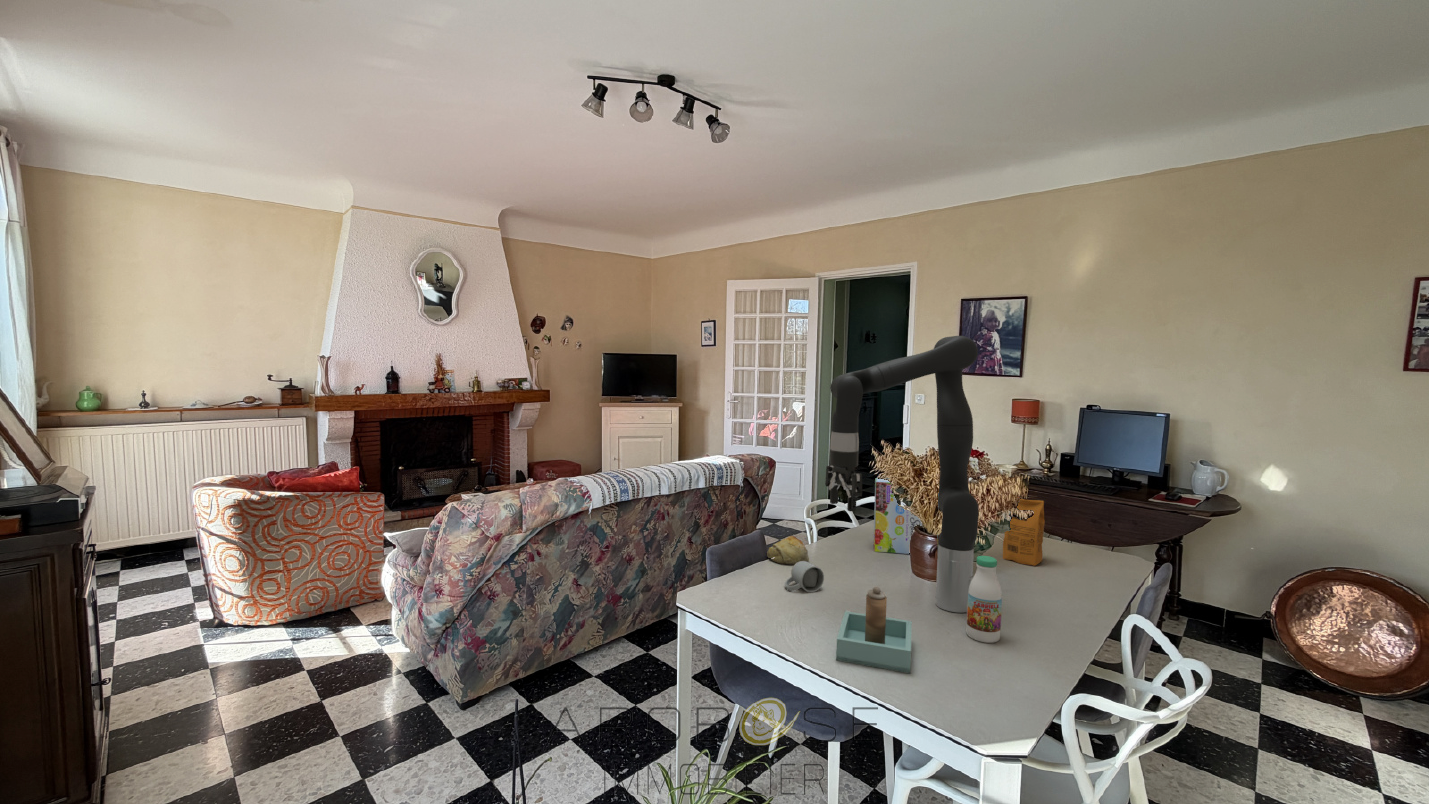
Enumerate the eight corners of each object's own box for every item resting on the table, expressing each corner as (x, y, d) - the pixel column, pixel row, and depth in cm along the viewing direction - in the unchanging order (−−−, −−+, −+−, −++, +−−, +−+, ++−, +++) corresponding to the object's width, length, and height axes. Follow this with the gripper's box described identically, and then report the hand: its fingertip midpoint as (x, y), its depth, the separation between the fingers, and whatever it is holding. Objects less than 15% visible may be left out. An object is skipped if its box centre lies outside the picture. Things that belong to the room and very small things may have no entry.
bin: (910, 640, 144) (911, 621, 144) (910, 673, 129) (911, 651, 129) (844, 630, 150) (844, 611, 149) (836, 660, 134) (836, 638, 134)
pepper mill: (885, 643, 141) (887, 584, 140) (884, 652, 136) (886, 592, 135) (865, 640, 142) (867, 582, 141) (863, 648, 138) (865, 589, 137)
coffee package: (1009, 552, 213) (1012, 492, 212) (1046, 561, 204) (1050, 499, 203) (997, 558, 207) (1000, 496, 205) (1035, 568, 198) (1039, 503, 196)
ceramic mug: (810, 580, 183) (810, 556, 182) (824, 590, 175) (824, 565, 174) (779, 585, 179) (779, 561, 178) (792, 596, 171) (793, 570, 171)
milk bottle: (961, 628, 151) (964, 552, 150) (991, 629, 151) (995, 553, 150) (973, 643, 144) (977, 563, 142) (1005, 644, 143) (1010, 563, 142)
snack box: (934, 549, 215) (937, 480, 213) (937, 557, 207) (940, 485, 205) (872, 544, 220) (875, 476, 218) (873, 552, 211) (876, 481, 210)
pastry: (814, 558, 204) (815, 536, 203) (800, 569, 193) (801, 545, 192) (777, 551, 211) (777, 529, 210) (761, 561, 200) (762, 538, 200)
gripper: (871, 451, 155) (869, 512, 156) (841, 444, 168) (839, 500, 170) (847, 453, 153) (845, 514, 154) (818, 445, 166) (816, 502, 167)
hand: (842, 507), depth 162 cm, fingers open, 8 cm apart
